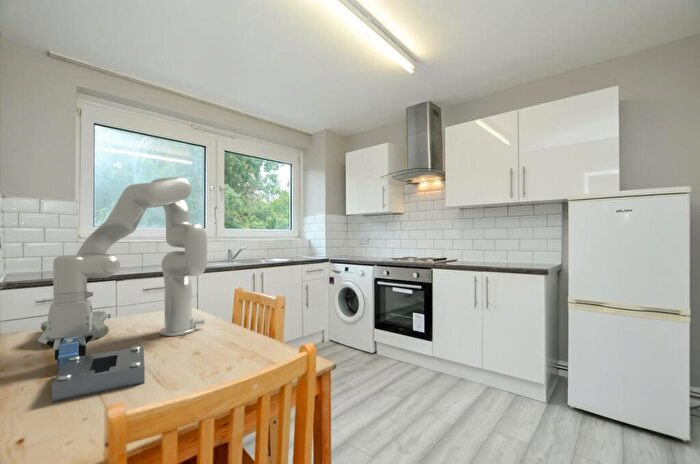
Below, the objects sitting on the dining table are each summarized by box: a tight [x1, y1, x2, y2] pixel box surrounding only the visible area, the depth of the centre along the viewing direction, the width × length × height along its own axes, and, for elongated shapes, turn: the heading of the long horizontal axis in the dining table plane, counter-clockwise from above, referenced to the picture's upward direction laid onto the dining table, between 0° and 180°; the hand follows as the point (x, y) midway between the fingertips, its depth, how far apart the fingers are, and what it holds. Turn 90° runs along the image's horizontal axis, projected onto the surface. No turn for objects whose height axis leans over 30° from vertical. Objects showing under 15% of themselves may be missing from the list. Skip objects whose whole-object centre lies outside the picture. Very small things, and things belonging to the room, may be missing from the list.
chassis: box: [51, 345, 146, 403], centre depth 88 cm, size 18×18×5 cm
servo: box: [58, 336, 80, 372], centre depth 96 cm, size 4×11×8 cm, turn 33°
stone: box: [40, 310, 110, 342], centre depth 125 cm, size 28×8×20 cm
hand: (70, 359), depth 96 cm, fingers closed on servo, 4 cm apart
